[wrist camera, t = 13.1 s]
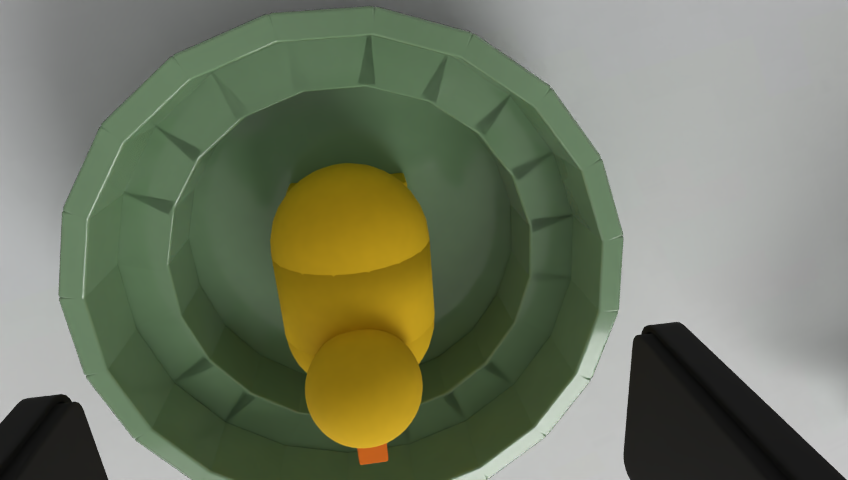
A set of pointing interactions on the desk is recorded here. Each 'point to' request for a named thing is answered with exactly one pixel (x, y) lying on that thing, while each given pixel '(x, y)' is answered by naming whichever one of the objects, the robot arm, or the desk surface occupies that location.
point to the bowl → (251, 251)
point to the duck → (356, 300)
